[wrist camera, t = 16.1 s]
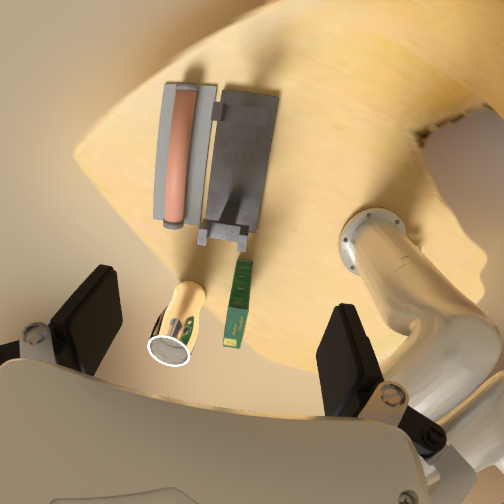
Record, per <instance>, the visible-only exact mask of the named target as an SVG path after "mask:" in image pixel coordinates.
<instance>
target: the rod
mask: <svg viewBox="0 0 504 504" xmlns="http://www.w3.org/2000/svg"><path fill="white" fill-rule="evenodd" d="M175 90H176V92H175V99H174V106H173V114H172V122H171V131H170V141H169V151H168V163H167V176H166V191H165V211H164V221H163V226H164V227H165V228H168V229H180V228H182V227H183V224H184V219H183V214H184V200H185V187H186V176H187V165H188V156H189V146H190V138H191V130H192V122H193V114H194V107H195V100H196V93H197V91H198V84H194V83H176V87H175Z"/></svg>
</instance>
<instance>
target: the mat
mask: <svg viewBox="0 0 504 504" xmlns="http://www.w3.org/2000/svg"><path fill="white" fill-rule="evenodd" d="M175 87H176V84H164V91H163V98H162V106H161V114H160V122H159V132H158V142H157V153H156V167H155V183H154V206H153V219H156V220H164V211H165V191H166V176H167V163H168V151H169V141H170V131H171V122H172V114H173V106H174V99H175V92H176V90H175ZM216 91H217V86H205V85H198V91H197V93H196V100H195V107H194V114H193V122H192V130H191V138H190V146H189V156H188V165H187V176H186V187H185V200H184V214H183V219H184V224H191V225H198V226H200V220H201V209H202V199H203V189H204V180H205V171H206V163H207V155H208V147H209V139H210V132H211V124H212V120H211V114H212V108H213V101H214V102H215V97H216Z"/></svg>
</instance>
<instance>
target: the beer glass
mask: <svg viewBox="0 0 504 504" xmlns="http://www.w3.org/2000/svg"><path fill="white" fill-rule="evenodd" d="M205 299H206V294H205V291H204V290H203V288H202V287H201V286H200V285H199V284H197V283H195V282H192V281H183V282H180V283H179V284H177V285H176V287H175V290H174V293H173V298H172V300H171V302H170V303H169V304H168V305H167V307H166V308H165V309H164V310H163V312H162V313H161V314H160V316H159V317H158V319H157V321H156V323H155V325H154V328H153V330H152V333H151V336H150V339H149V341H148V350H149V352H150V354H151V355H152V356H153V357H154V358H155V359H156V360H158V361H159V362H161V363H163V364H166V365H169V366H182V365H184V364H186V363H187V362H188V361H189V359H190V356H191V354H192V351H193V349H194V346H195V343H196V340H197V335H198V329H199V312H200V308H201V307H202V305H203V304H204V302H205Z"/></svg>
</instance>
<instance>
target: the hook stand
mask: <svg viewBox="0 0 504 504" xmlns="http://www.w3.org/2000/svg"><path fill="white" fill-rule="evenodd" d="M278 100H279V97H274V96H268V95H262V94H255V93H247V92H239V91H231V90H222V94H221V101H220V102H214V101H213V108H212V114H211V120H214V121H217V128H216V135H215V142H214V150H213V157H212V165H211V174H210V182H209V191H208V200H207V210H206V219H204V220H203V222H202V223H201V225H200V227H199V229H198V241H197V245H203V246H206V244H207V242H208V239H209V238H216V239H222V240H228V241H235V242H238V246H237V251H242V252H246V246H247V239H248V233H249V232H250V233H256V228H257V222H258V216H259V210H260V205H261V199H262V193H263V187H264V181H265V176H266V170H267V164H268V158H269V152H270V147H271V141H272V135H273V129H274V123H275V118H276V112H277V106H278Z"/></svg>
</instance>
